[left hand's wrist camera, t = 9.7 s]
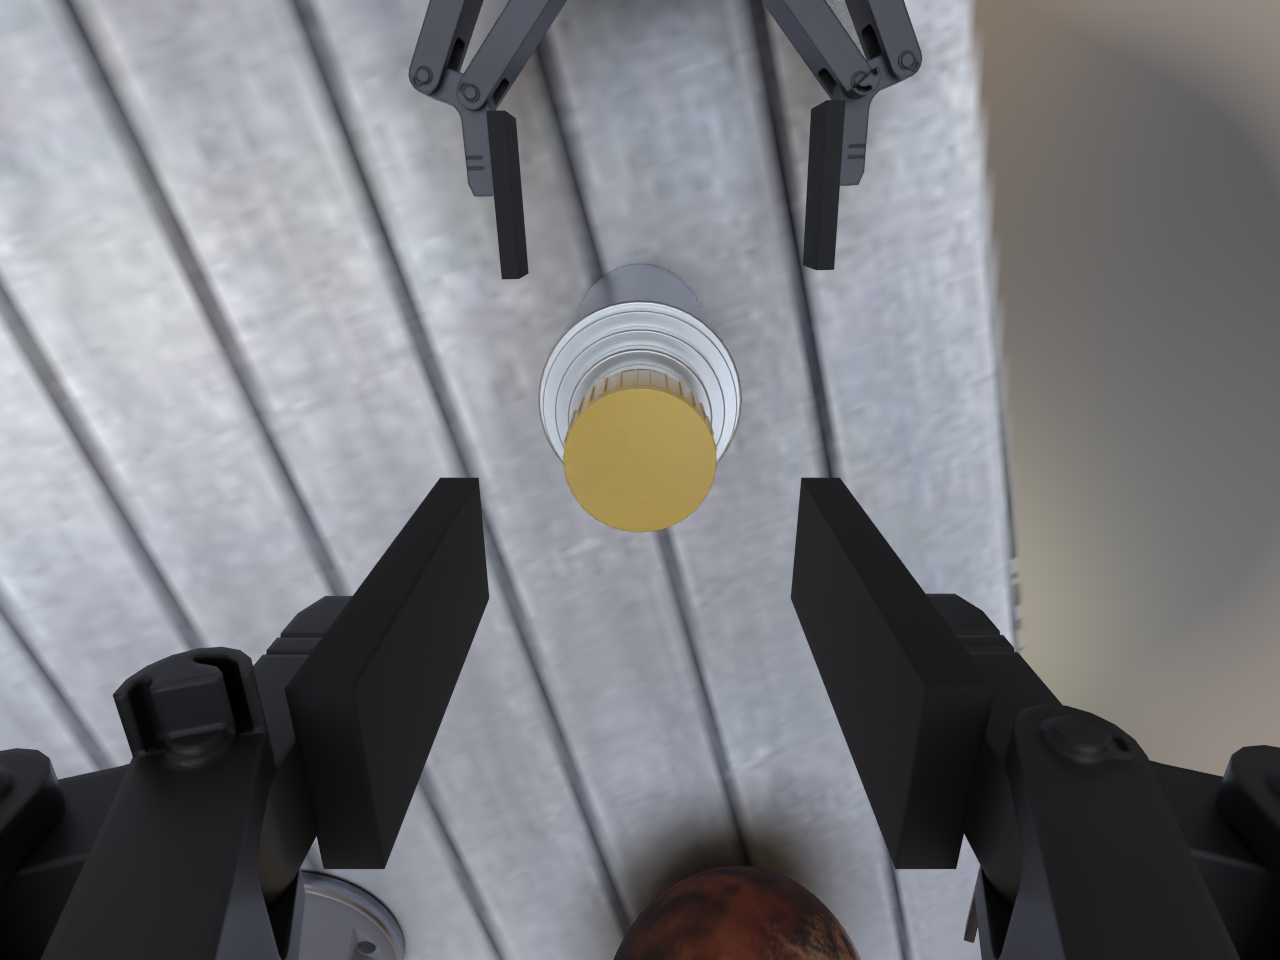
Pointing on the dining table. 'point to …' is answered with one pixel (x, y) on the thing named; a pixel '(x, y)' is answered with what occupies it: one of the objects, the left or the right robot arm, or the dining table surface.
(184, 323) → the dining table surface
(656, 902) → the cat face ball
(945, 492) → the dining table surface
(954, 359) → the dining table surface
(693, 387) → the bottle
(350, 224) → the dining table surface
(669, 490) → the cap
